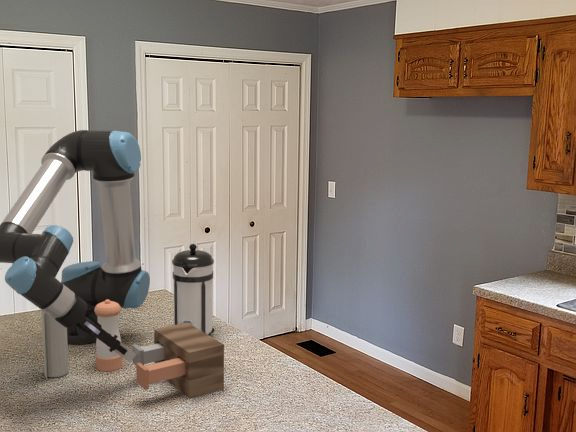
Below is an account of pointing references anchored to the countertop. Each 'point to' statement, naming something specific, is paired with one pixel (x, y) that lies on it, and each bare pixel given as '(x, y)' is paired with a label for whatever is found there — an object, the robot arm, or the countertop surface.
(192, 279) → the coffee press
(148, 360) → the plug grey
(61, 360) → the paper towel roll
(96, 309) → the salt shaker
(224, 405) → the countertop surface
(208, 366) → the block
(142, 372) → the plug terracotta
